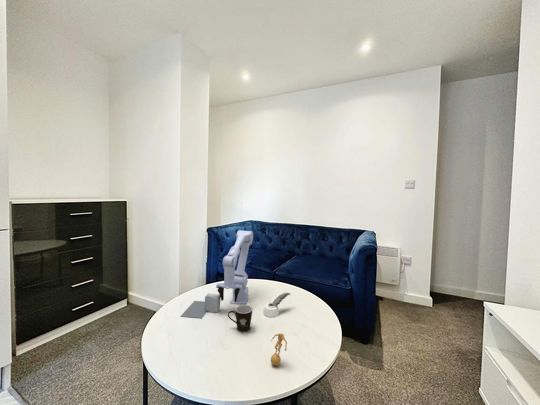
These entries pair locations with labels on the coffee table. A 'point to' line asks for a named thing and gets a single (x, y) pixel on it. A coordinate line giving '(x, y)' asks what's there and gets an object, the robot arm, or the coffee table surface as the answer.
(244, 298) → the robot arm
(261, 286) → the coffee table surface
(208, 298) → the medicine box
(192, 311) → the mat
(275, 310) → the inkwell
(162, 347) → the coffee table surface
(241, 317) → the coffee mug
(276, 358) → the figurine
